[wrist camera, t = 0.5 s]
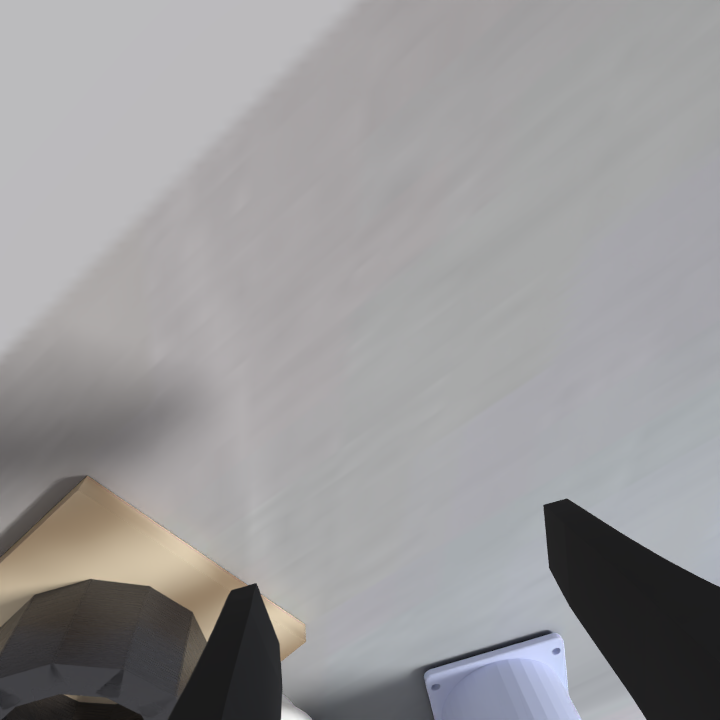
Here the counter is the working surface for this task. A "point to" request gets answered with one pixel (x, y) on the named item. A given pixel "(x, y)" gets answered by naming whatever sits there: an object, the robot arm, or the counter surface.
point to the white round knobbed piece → (292, 711)
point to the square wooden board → (121, 563)
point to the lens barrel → (97, 653)
